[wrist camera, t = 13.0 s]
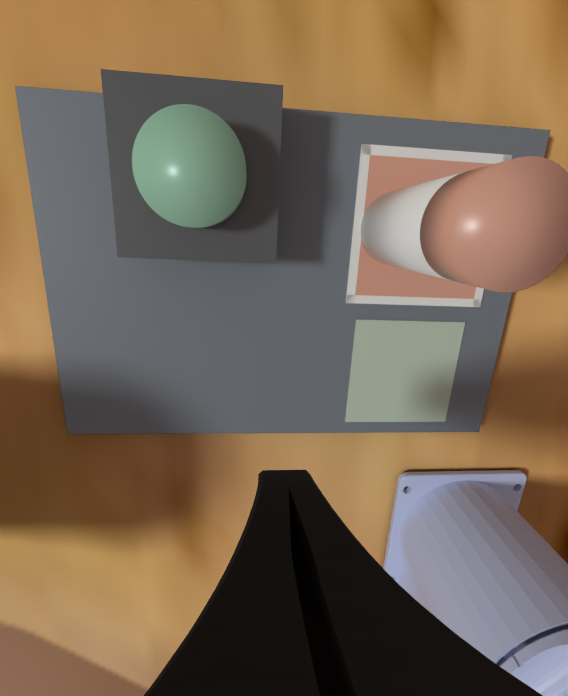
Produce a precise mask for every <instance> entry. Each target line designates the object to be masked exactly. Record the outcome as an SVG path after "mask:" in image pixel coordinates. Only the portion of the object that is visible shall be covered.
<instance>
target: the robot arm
mask: <svg viewBox="0 0 568 696" xmlns="http://www.w3.org/2000/svg"><path fill="white" fill-rule="evenodd" d="M526 480H527V477H526V475H525V474H524V473H523V472H521V471H520V470H493V471H434V472H404V473H403V474H401V475H400V476H399V478H398V483H397V489H396V495H395V501H394V507H393V513H392V519H391V525H390V531H389V536H388V542H387V548H386V554H385V560H384V566H383V568H382V567H381V566H380V565H379V564H378V563H377V562H376V560H375V559H374V558H373V557H372V556H371V555H370V554H369V553H368V552H367V550H366V549H365V548H364V547H363V546H362V545H361V544H360V542H359V541H358V540H357V539H356V538H355V537H354V535H353V534H352V533H351V532H350V530H349V529H348V528H347V527H346V525H345V524H344V523H343V521H342V520H341V519H340V518H339V516H338V515H337V514H336V512H335V511H334V510H333V508H332V507H331V506H330V504H329V503H328V501H327V500H326V498H325V497H324V496H323V494H322V493H321V491H320V490H319V488H318V487H317V485H316V483H315V482H314V480H313V479H312V477H311V475H310V474H309V473H308V472H307V471H306V470H267V471H262V472H261V473H259V479H258V488H257V492H256V496H255V500H254V503H253V506H252V509H251V512H250V515H249V518H248V521H247V524H246V526H245V529H244V531H243V533H242V536H241V538H240V540H239V543H238V545H237V547H236V549H235V552H234V554H233V556H232V558H231V560H230V562H229V564H228V566H227V568H226V570H225V572H224V574H223V576H222V578H221V580H220V581H219V583H218V585H217V587H216V589H215V591H214V592H213V594H212V596H211V597H210V599H209V601H208V602H207V604H206V606H205V607H204V609H203V611H202V613H201V614H200V616H199V617H198V619H197V621H196V622H195V624H194V625H193V627H192V628H191V630H190V632H189V633H188V635H187V636H186V638H185V639H184V640H183V642H182V643H181V645H180V646H179V648H178V649H177V650H176V652H175V653H174V655H173V656H172V658H171V659H170V660H169V662H168V663H167V665H166V666H165V668H164V669H163V670H162V672H161V673H160V675H159V676H158V678H157V679H156V680H155V682H154V683H153V684H152V686H151V687H150V688H149V690H148V691H147V692H146V693H145V695H144V696H568V564H567V563H566V562H565V561H564V560H563V558H562V557H561V556H560V555H559V554H558V553H557V552H556V551H555V550H554V549H553V548H552V547H551V546H550V545H549V544H548V543H547V542H546V541H545V540H544V539H543V537H542V536H541V535H540V534H539V533H538V532H537V531H536V530H535V529H534V528H533V527H532V526H531V525H530V524H529V523H528V522H527V521H526V520H525V519H524V518H523V516H522V515H521V514H520V513H519V512H518V507H519V504H520V500H521V497H522V494H523V490H524V487H525V483H526ZM407 486H408V488H406V489H404V488H405V487H407Z"/></svg>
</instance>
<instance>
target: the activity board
mask: <svg viewBox="0 0 568 696" xmlns="http://www.w3.org/2000/svg"><path fill="white" fill-rule="evenodd" d="M15 89H16V96H17V102H18V109H19V116H20V122H21V129H22V135H23V142H24V149H25V155H26V162H27V169H28V175H29V182H30V188H31V195H32V202H33V208H34V215H35V222H36V228H37V235H38V241H39V248H40V255H41V261H42V268H43V275H44V281H45V288H46V294H47V301H48V308H49V314H50V321H51V328H52V334H53V341H54V347H55V354H56V361H57V367H58V374H59V381H60V387H61V394H62V400H63V407H64V414H65V420H66V427H67V434H192V433H367V432H479V430H480V426H481V422H482V418H483V413H484V409H485V405H486V401H487V397H488V392H489V388H490V384H491V380H492V375H493V371H494V367H495V363H496V359H497V354H498V350H499V346H500V342H501V337H502V333H503V329H504V325H505V321H506V316H507V312H508V308H509V304H510V300H511V295H512V292H505V293H503V292H495V291H491V290H487V289H483V288H479V287H475V286H471V285H467V284H463V283H459V282H455V281H451V280H447V279H443V278H439V277H435V276H431V275H427V274H423V273H419V272H415V271H411V270H406V269H402V268H398V267H394V266H390V265H386V264H383V263H380V262H378V261H376V260H374V259H373V258H372V257H371V256H370V255H369V254H368V253H367V252H366V250H365V248H364V246H363V244H362V241H361V234H360V229H361V222H362V218H363V216H364V213H365V211H366V210H367V208H368V207H369V205H370V204H371V203H372V202H373V201H374V200H375V199H376V198H378V197H379V196H381V195H383V194H385V193H388V192H391V191H395V190H399V189H402V188H406V187H410V186H414V185H417V184H421V183H425V182H429V181H432V180H436V179H440V178H443V177H447V176H451V175H455V174H458V173H462V172H466V171H470V170H473V169H477V168H481V167H485V166H488V165H492V164H496V163H500V162H503V161H507V160H511V159H515V158H518V157H525V156H537V157H543V158H544V156H545V152H546V148H547V143H548V139H549V135H550V131H551V130H542V129H530V128H518V127H506V126H493V125H481V124H469V123H457V122H445V121H433V120H421V119H409V118H397V117H385V116H373V115H361V114H349V113H337V112H325V111H313V110H301V109H289V108H282V127H281V153H280V178H279V203H278V229H277V254H276V264H270V263H245V262H220V261H196V260H171V259H146V258H122V257H117V246H116V234H115V223H114V212H113V201H112V189H111V178H110V167H109V156H108V144H107V133H106V122H105V111H104V99H103V93H96V92H84V91H72V90H60V89H48V88H36V87H24V86H15Z"/></svg>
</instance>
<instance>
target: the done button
mask: <svg viewBox="0 0 568 696" xmlns="http://www.w3.org/2000/svg"><path fill="white" fill-rule="evenodd" d="M132 169H133V175H134V179H135V182H136V185H137V187H138V190H139V191H140V193H141V195H142V197H143V198H144V200H145V201H146V203H147V204H148V205H149V206H150V207H151V209H152V210H154V211H155V212H156V213H157V214H158V215H159V216H161V217H162V218H164V219H165V220H167V221H169V222H171V223H174V224H176V225H179V226H183V227H191V228H205V227H211V226H214V225H217V224H219V223H221V222H223V221H224V220H226V219H227V218H229V217H230V216H231V215H232V214H233V213H234V212H235V211H236V209H237V208H238V206H239V205H240V203H241V201H242V199H243V196H244V193H245V188H246V180H247V175H246V162H245V156H244V152H243V149H242V146H241V144H240V142H239V140H238V138H237V136H236V134H235V133H234V131H233V130H232V129H231V127H230V126H229V125H228V124H227V123H226V122H225V121H224V120H223V119H222V118H220V117H219V116H218V115H217V114H215V113H213V112H212V111H210V110H208V109H206V108H203V107H200V106H197V105H191V104H177V105H171V106H168V107H165V108H163V109H161V110H159V111H157V112H156V113H154V114H153V115H152V116H151V117H150V118H149V119H147V120H146V122H145V123H144V124H143V126H142V127H141V129H140V130H139V132H138V134H137V137H136V139H135V142H134V146H133V152H132Z"/></svg>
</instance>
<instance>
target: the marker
mask: <svg viewBox="0 0 568 696" xmlns="http://www.w3.org/2000/svg"><path fill="white" fill-rule="evenodd" d="M360 234H361V241H362V244H363V246H364V248H365V250H366V252H367V253H368V254H369V255H370V256H371V257H372V258H373V259H374V260H376V261H378V262H380V263H383V264H386V265H390V266H394V267H398V268H402V269H406V270H411V271H415V272H419V273H423V274H427V275H431V276H435V277H439V278H443V279H447V280H451V281H455V282H459V283H463V284H467V285H471V286H475V287H479V288H483V289H487V290H491V291H495V292H503V293H505V292H516V291H520V290H524V289H527V288H529V287H532V286H534V285H536V284H537V283H539V282H541V281H542V280H544V279H545V278H546V277H548V276H549V275H550V274H551V273H552V272H553V271H554V270H555V269H556V268H557V267H558V266H559V265H560V264H561V262H562V261H563V260H564V258H565V257H566V255H567V254H568V173H567V172H566V170H565V169H564V168H562V167H561V166H560V165H559V164H557V163H555V162H554V161H552V160H549V159H546V158H543V157H537V156H525V157H518V158H515V159H511V160H507V161H503V162H500V163H496V164H492V165H488V166H485V167H481V168H477V169H473V170H470V171H466V172H462V173H458V174H455V175H451V176H447V177H443V178H440V179H436V180H432V181H429V182H425V183H421V184H417V185H414V186H410V187H406V188H402V189H399V190H395V191H391V192H388V193H385V194H383V195H381V196H379V197H378V198H376V199H375V200H374V201H373V202H372V203H371V204H370V205H369V207H368V208H367V210H366V211H365V213H364V216H363V218H362V222H361V229H360Z"/></svg>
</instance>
